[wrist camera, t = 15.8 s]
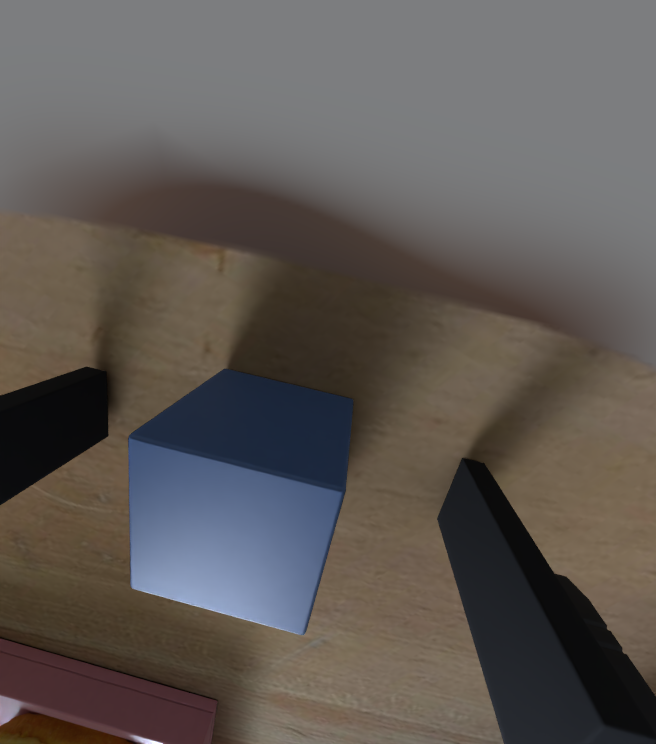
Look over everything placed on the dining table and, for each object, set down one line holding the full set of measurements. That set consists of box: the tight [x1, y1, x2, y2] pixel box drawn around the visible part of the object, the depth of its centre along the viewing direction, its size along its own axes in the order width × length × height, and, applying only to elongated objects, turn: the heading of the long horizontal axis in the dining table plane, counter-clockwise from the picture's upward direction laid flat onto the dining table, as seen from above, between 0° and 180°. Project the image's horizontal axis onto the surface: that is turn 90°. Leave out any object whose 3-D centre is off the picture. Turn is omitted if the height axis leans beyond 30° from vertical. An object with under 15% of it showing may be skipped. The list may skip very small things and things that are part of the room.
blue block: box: [128, 369, 353, 635], centre depth 9 cm, size 5×5×5 cm
